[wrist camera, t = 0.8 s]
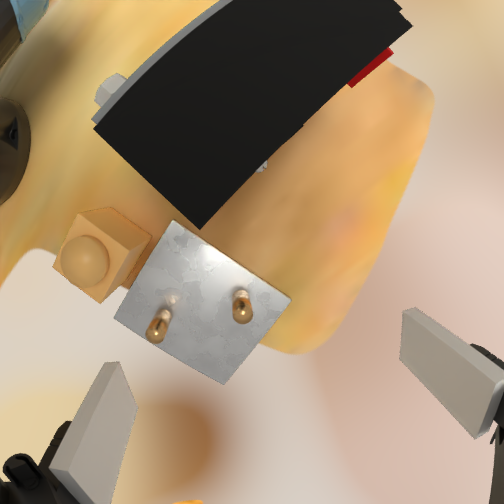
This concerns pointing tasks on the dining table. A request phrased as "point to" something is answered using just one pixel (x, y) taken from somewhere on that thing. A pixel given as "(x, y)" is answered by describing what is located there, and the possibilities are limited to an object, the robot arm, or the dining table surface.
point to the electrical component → (238, 91)
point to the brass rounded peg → (241, 307)
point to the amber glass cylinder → (158, 326)
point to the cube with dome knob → (100, 251)
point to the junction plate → (200, 303)
